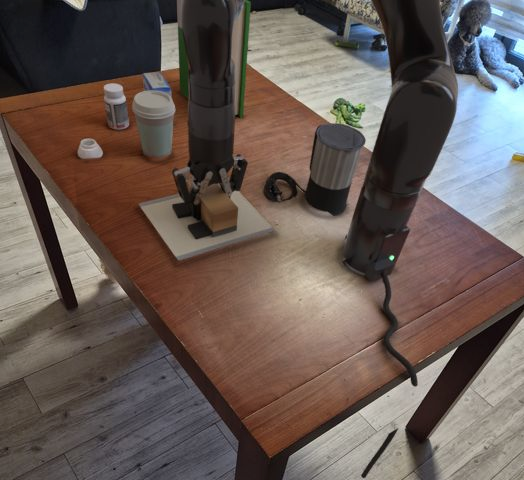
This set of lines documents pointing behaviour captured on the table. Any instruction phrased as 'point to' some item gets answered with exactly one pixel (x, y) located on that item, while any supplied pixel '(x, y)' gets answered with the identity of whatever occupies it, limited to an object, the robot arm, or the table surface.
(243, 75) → the hardback book
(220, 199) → the eraser
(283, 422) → the table surface
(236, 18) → the robot arm
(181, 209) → the smudge
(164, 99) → the coffee cup
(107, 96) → the pill bottle
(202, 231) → the smudge
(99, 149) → the white jar
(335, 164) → the milk frother
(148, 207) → the board
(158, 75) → the medicine box
